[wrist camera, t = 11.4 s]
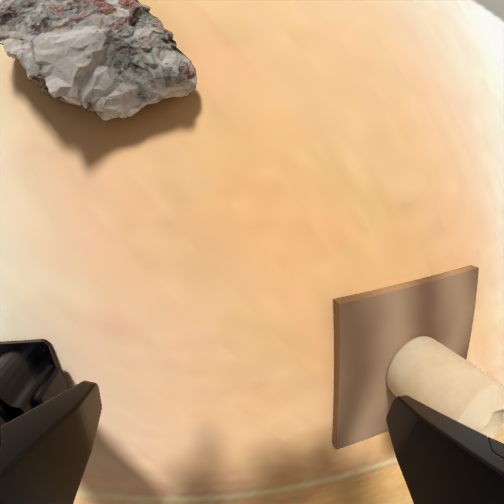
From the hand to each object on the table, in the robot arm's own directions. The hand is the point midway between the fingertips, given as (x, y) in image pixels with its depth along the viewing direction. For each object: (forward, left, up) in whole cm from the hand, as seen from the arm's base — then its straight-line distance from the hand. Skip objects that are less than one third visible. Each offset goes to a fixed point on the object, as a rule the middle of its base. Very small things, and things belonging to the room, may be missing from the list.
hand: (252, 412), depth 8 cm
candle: (+14, -9, -11) cm, 20 cm away
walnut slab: (+15, -9, -12) cm, 21 cm away
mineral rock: (-6, +16, -13) cm, 22 cm away
